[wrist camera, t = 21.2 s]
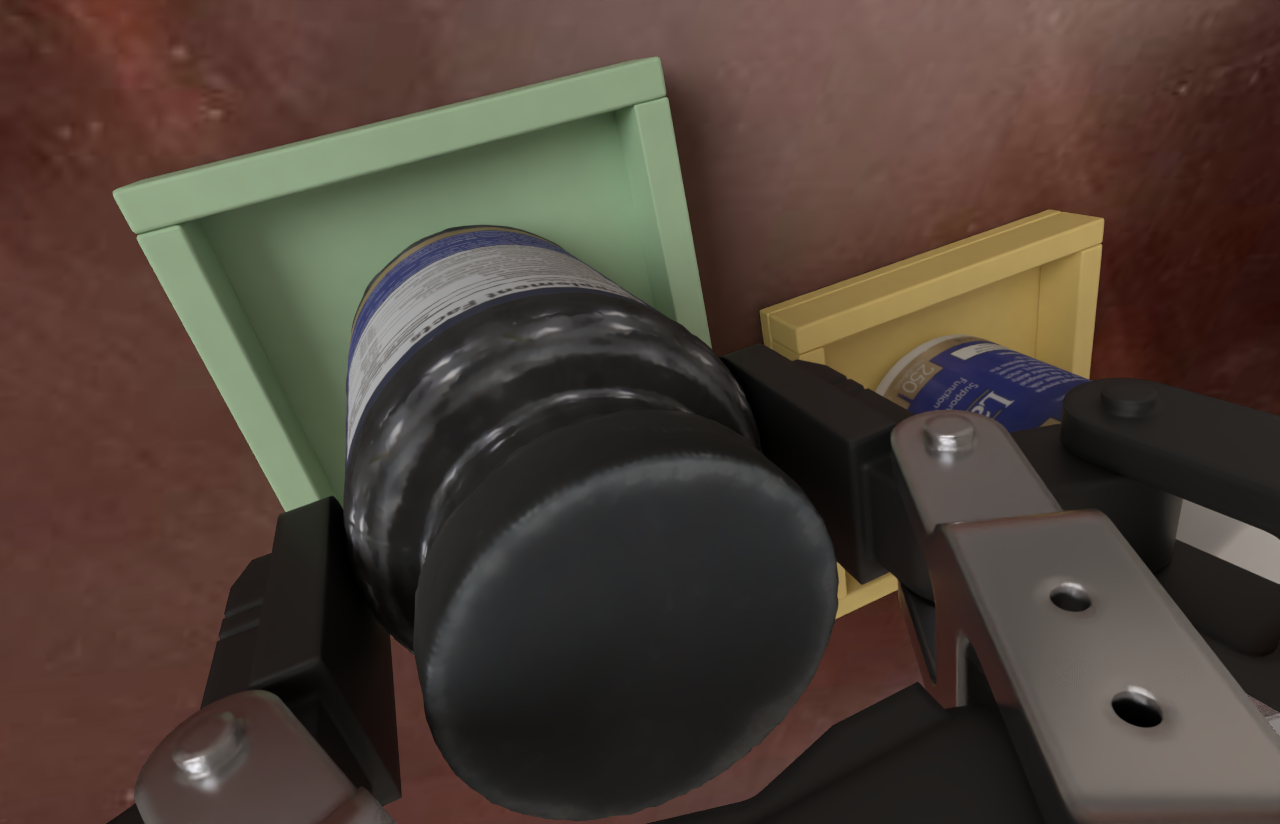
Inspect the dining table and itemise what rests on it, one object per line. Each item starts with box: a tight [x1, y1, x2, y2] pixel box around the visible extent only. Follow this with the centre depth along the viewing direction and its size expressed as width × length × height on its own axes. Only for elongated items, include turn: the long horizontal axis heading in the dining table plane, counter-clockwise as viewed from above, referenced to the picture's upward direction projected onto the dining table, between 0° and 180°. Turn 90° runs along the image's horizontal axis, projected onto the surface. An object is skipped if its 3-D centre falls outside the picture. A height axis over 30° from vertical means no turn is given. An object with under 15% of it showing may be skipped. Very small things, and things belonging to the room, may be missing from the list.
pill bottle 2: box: [875, 334, 1280, 584], centre depth 19 cm, size 6×6×10 cm
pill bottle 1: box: [343, 225, 839, 821], centre depth 12 cm, size 6×6×11 cm
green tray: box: [113, 57, 712, 512], centre depth 17 cm, size 11×11×2 cm
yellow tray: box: [760, 210, 1104, 619], centre depth 23 cm, size 11×11×2 cm
